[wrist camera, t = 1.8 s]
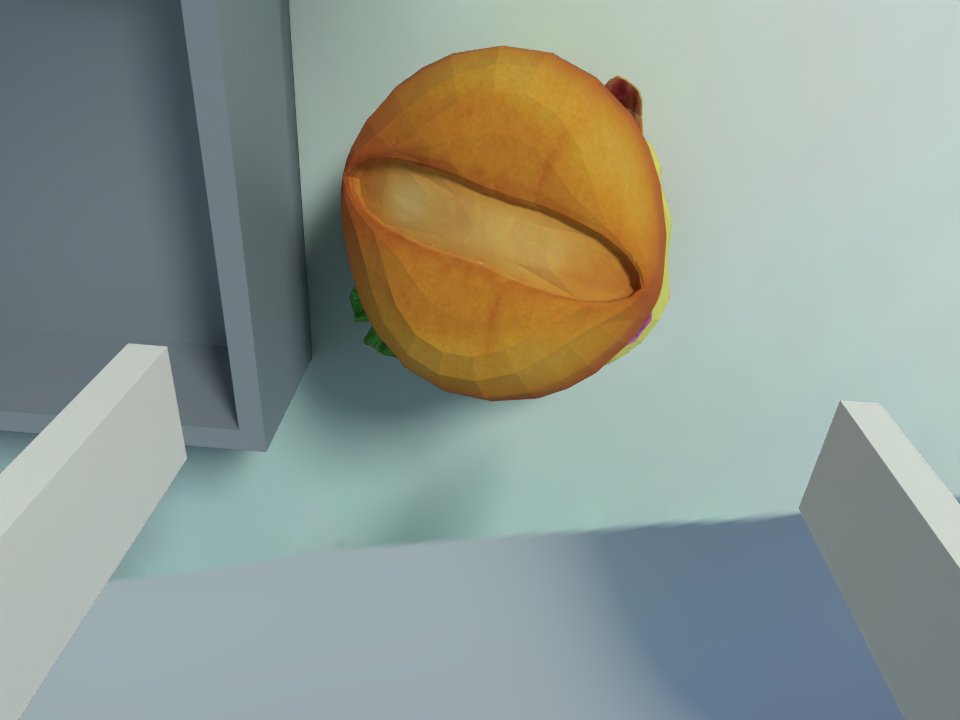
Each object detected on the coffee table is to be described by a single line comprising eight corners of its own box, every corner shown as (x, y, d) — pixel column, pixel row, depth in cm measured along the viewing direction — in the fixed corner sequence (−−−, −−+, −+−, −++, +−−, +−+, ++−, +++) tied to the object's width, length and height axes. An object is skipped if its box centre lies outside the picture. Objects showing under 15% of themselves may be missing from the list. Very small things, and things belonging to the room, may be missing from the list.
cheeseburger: (427, 385, 29) (354, 509, 19) (346, 114, 26) (214, 103, 16) (682, 330, 27) (741, 439, 17) (624, 30, 24) (657, -37, 14)
